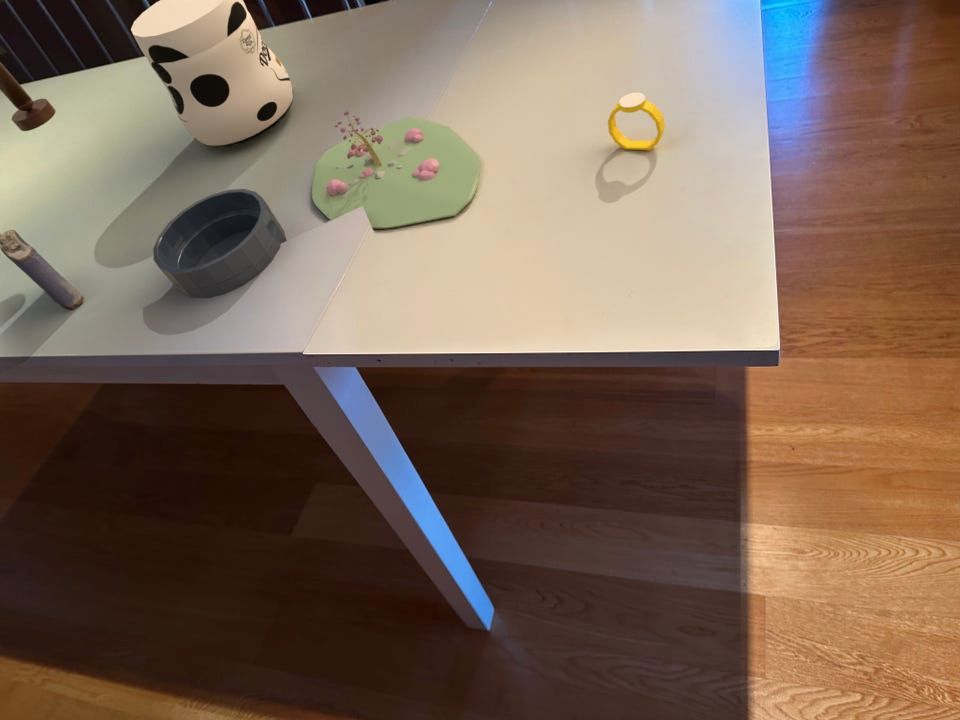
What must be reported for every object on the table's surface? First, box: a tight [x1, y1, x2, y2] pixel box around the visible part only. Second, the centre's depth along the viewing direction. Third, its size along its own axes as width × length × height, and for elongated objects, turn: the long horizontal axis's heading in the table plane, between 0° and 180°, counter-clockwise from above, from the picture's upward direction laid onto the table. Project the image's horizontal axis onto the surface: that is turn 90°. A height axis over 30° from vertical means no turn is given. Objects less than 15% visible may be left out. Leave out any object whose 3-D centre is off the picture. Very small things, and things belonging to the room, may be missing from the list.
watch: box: [607, 92, 666, 152], centre depth 73 cm, size 6×3×6 cm, turn 61°
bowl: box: [152, 188, 288, 299], centre depth 79 cm, size 14×14×6 cm
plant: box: [311, 110, 482, 230], centre depth 81 cm, size 25×21×9 cm
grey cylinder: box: [0, 229, 84, 310], centre depth 84 cm, size 9×3×11 cm, turn 48°
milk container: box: [130, 0, 294, 148], centre depth 97 cm, size 17×17×18 cm
